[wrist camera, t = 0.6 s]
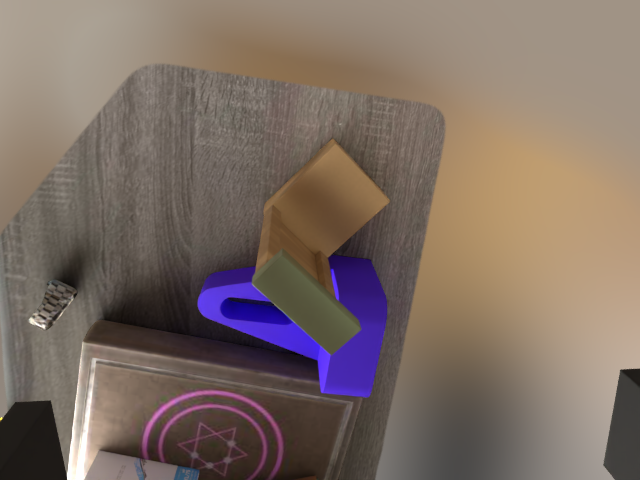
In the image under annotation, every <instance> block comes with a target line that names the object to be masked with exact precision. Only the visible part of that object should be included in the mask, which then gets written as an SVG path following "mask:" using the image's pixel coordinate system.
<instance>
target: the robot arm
mask: <svg viewBox="0 0 640 480" xmlns="http://www.w3.org/2000/svg"><path fill="white" fill-rule="evenodd" d="M604 466H605V468H606V469H607V470H608V472H609V473H610V474H611V475H612V476H613V478H614V479H615V480H640V369H626V370H625V369H624V370H620V375H619V381H618V386H617V393H616V397H615V403H614V409H613V415H612V420H611V425H610V431H609V437H608V443H607V448H606V453H605V459H604ZM0 480H67V475H66V470H65V465H64V461H63V456H62V451H61V447H60V442H59V437H58V433H57V428H56V423H55V418H54V414H53V409H52V404H51V401H33V402H15V404H14V405H13V406H12V407H11V409H10V410H9V411H8V412H7V414H6V415H5V416H4V417H3V418H2V420H1V421H0Z"/></svg>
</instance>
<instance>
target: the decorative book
mask: <svg viewBox="0 0 640 480" xmlns="http://www.w3.org/2000/svg"><path fill="white" fill-rule="evenodd" d="M295 480H318V479H317V478H316V475H314V476H309V477H304V478H299V479H295Z"/></svg>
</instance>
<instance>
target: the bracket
mask: <svg viewBox="0 0 640 480" xmlns="http://www.w3.org/2000/svg"><path fill="white" fill-rule="evenodd" d="M328 261H329V266H330V271H331V276H332V281H333V286H334V291H335V296H336V299H337V300H338V301H339V302H340V303H341V304H343V305H344V306H345V307H346V308H347V309H348V310H349V311H350V312H351V313H352V314H353V315H354V316H355V317H356V318H357V319H358V320H359V322H360V326H361V331H359V332H358V333H357V334H356V335H355V336H354V337H352V338H351V339H350V340H349V341H348V342H347V343H345V344H344V345H343V346H342V347H341V348H340V349H338V350H337V351H336V352H335V353H334V354H333V355H330V354H329V353H328V352H327V351H325V350H324V349H323V348H322V347H321V346H320V345H319V344H318V343H317V342H315V341H314V340H313V339H312V338H311V337H310V336H309V335H308V334H307V333H305V332H304V331H303V330H302V329H301V328H300V327H299V326H298V325H297V324H295V323H294V322H293V321H292V320H291V319H290V318H289V317H288V316H287V315H285V314H284V313H283V312H282V311H281V310H280V309H279V308H278V307H277V306H268V305H259V304H250V303H242V302H234V301H231V300H229V299H228V298H230V297H235V298H244V299H252V300H261V301H270V300H269V299H268V298H267V297H266V296H264V295H263V294H262V293H261V292H260V291H259V290H258V289H257V288H256V287H254V286H253V285H252V278H253V275H254V274H255V270H256V266H254V267H247V268H241V269H234V270H228V271H221V272H216V273H213V274H211V275H209V276H208V277H207V279H206V280H205V283H204V285H203V288H202V291H201V293H200V296H199V299H198V308H199V311H200V312H201V314H202V315H203V316H205V317H206V318H208V319H211V320H213V321H216V322H218V323H221V324H224V325H226V326H229V327H231V328H234V329H237V330H239V331H242V332H244V333H247V334H250V335H252V336H255V337H257V338H260V339H262V340H265V341H268V342H270V343H273V344H275V345H278V346H281V347H283V348H286V349H288V350H291V351H294V352H296V353H299V354H301V355H304V356H307V357H309V358H312V359H314V360H317V361H318V369H319V379H320V389H321V393H327V394H337V395H348V396H358V397H369V396H370V394H371V391H372V387H373V382H374V377H375V373H376V368H377V363H378V359H379V354H380V349H381V345H382V340H383V335H384V331H385V326H386V319H387V299H386V295H385V293H384V291H383V288H382V286H381V283H380V281H379V279H378V276H377V274H376V271H375V269H374V267H373V264H372V262H371V260H369V259H361V258H353V257H345V256H337V255H331V256H329V257H328ZM270 302H271V301H270Z"/></svg>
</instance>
